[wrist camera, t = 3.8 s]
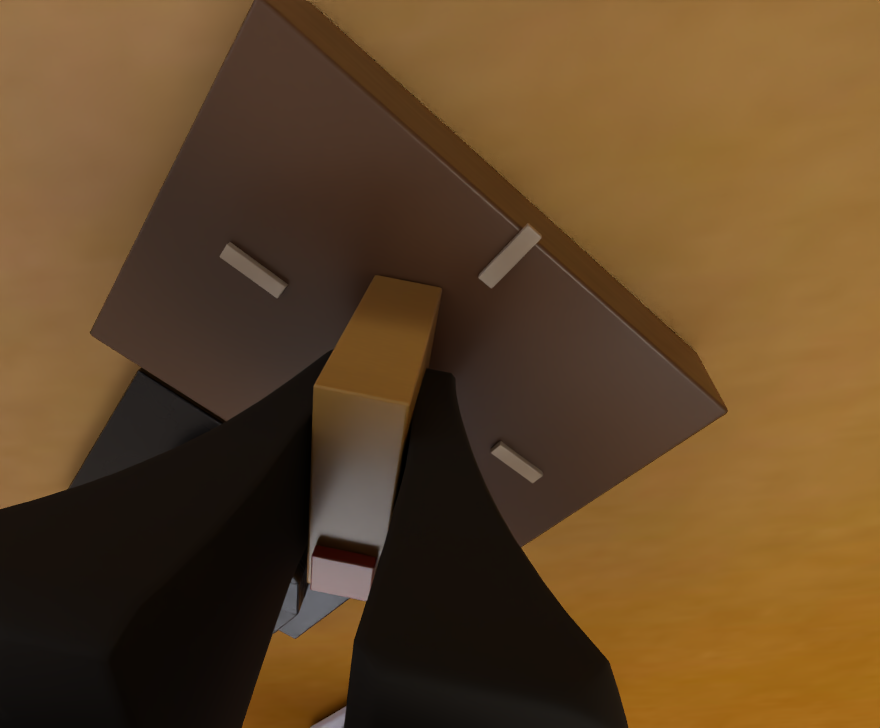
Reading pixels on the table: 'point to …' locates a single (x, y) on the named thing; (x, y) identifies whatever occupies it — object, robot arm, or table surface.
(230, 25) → the table surface
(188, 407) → the bell push
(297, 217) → the plate
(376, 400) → the tan rectangular block
